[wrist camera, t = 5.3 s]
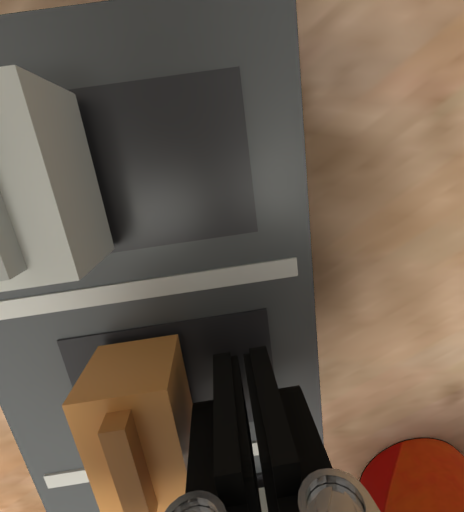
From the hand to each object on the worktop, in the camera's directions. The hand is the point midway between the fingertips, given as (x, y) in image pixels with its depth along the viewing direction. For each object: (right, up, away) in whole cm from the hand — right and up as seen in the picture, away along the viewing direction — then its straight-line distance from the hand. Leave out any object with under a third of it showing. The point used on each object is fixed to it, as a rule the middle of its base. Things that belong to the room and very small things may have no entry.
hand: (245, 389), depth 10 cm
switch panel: (-3, +1, +4) cm, 5 cm away
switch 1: (-5, +6, -2) cm, 8 cm away
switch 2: (-3, 0, +1) cm, 3 cm away
